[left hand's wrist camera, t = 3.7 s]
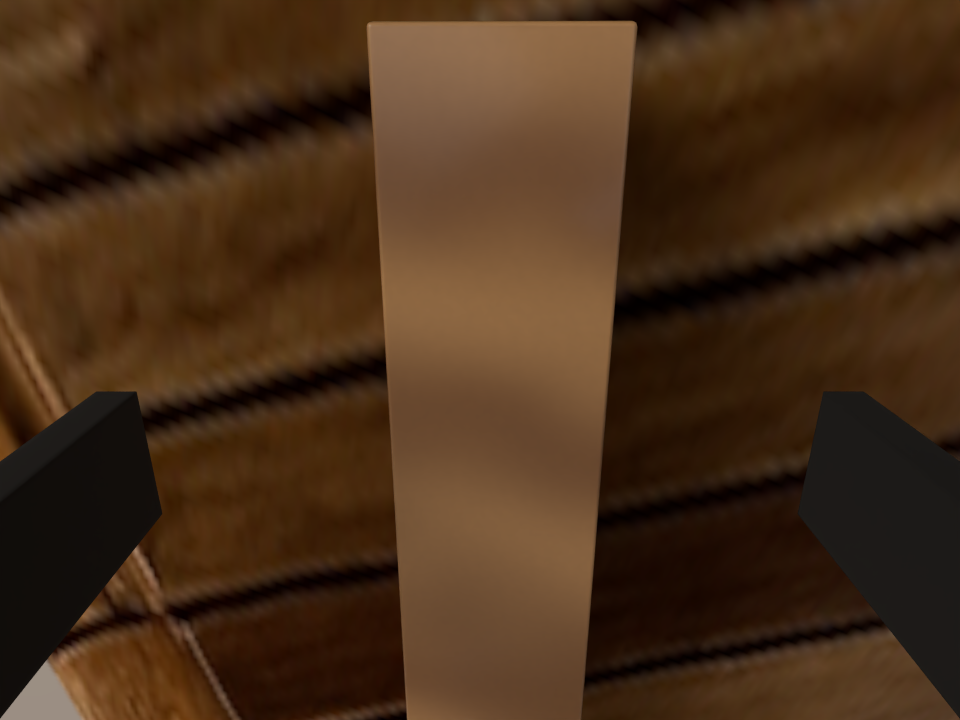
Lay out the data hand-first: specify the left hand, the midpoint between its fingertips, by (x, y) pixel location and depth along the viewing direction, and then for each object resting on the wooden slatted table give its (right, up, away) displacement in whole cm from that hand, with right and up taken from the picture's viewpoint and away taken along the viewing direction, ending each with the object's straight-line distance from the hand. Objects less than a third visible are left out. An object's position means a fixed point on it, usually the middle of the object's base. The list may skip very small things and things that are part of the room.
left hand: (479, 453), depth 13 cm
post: (0, -15, +17) cm, 22 cm away
